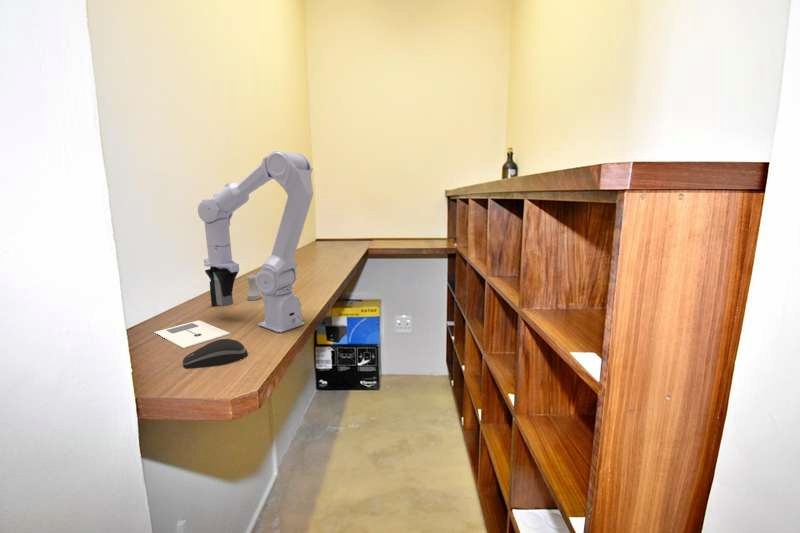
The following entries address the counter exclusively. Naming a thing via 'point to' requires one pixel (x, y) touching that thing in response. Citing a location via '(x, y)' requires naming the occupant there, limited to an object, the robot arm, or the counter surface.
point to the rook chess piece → (253, 289)
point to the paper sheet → (191, 334)
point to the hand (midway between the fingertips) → (224, 294)
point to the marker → (219, 296)
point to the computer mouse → (215, 354)
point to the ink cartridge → (213, 295)
